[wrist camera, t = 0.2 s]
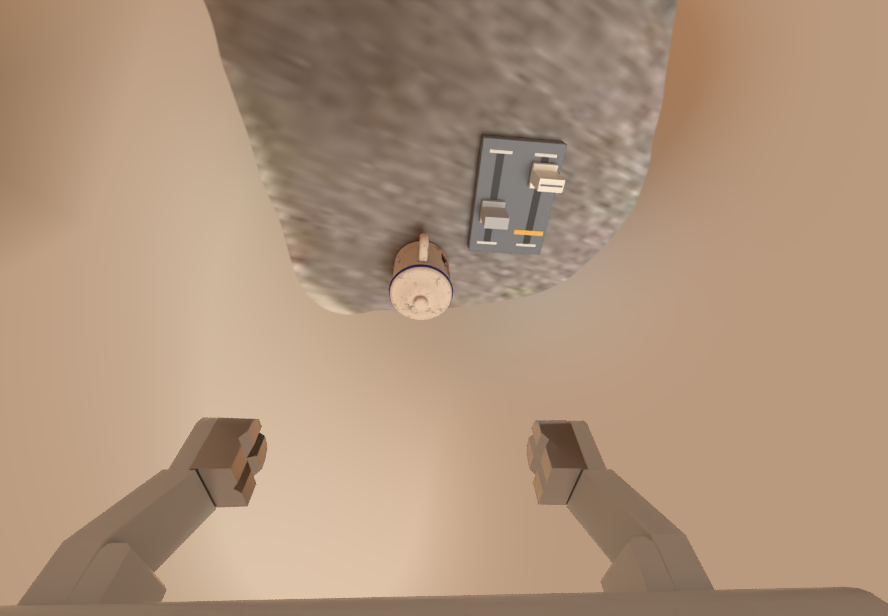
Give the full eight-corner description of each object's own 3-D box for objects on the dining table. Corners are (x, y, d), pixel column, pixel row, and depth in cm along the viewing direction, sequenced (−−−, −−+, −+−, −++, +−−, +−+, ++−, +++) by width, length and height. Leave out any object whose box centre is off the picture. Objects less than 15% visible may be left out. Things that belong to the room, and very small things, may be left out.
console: (481, 134, 51) (488, 146, 45) (562, 141, 52) (578, 153, 46) (467, 244, 60) (471, 265, 54) (536, 249, 61) (547, 269, 55)
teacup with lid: (446, 290, 65) (450, 333, 55) (392, 287, 64) (386, 330, 54) (454, 222, 58) (460, 258, 48) (394, 218, 57) (387, 254, 48)
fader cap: (533, 162, 51) (541, 172, 47) (556, 164, 51) (567, 173, 47) (528, 186, 53) (536, 197, 49) (550, 187, 53) (560, 199, 49)
